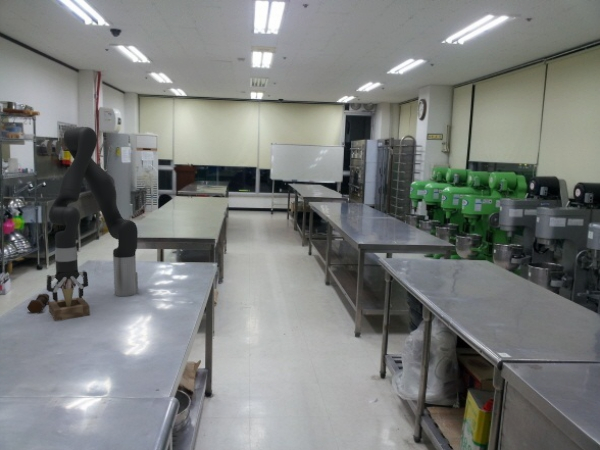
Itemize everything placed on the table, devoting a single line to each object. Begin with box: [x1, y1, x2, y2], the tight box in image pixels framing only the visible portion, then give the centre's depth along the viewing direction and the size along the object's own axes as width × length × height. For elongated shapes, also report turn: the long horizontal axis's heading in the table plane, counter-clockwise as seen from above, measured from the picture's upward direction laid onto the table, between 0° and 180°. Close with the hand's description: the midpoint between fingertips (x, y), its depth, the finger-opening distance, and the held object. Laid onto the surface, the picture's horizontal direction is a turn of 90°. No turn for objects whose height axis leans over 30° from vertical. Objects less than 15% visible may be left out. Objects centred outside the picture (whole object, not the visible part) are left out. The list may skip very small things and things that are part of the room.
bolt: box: [27, 293, 50, 314], centre depth 190 cm, size 6×5×15 cm
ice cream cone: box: [59, 279, 77, 307], centre depth 183 cm, size 6×6×15 cm
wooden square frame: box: [48, 296, 90, 322], centre depth 184 cm, size 12×12×4 cm
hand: (68, 299), depth 183 cm, fingers open, 8 cm apart
